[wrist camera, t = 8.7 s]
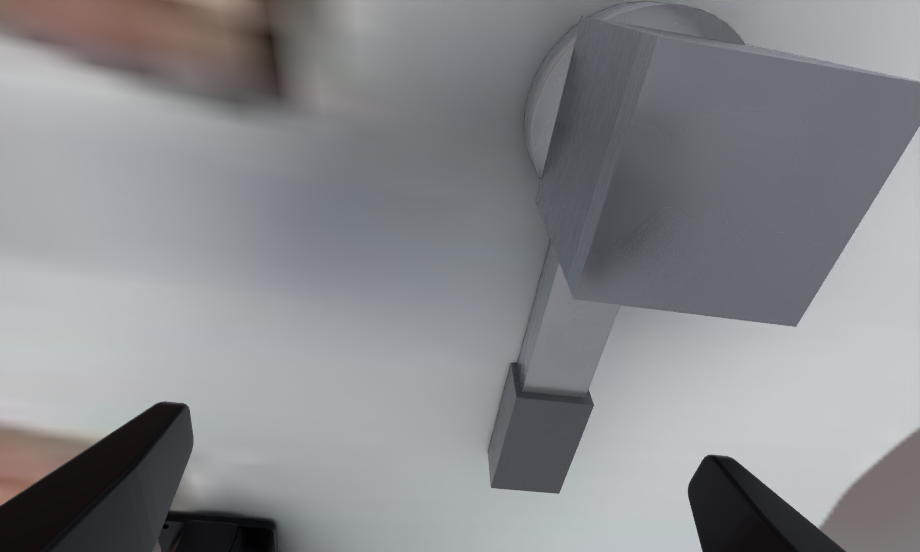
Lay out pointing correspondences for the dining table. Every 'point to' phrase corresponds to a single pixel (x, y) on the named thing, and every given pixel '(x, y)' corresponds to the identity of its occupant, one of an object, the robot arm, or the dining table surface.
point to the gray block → (713, 170)
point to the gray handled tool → (564, 295)
